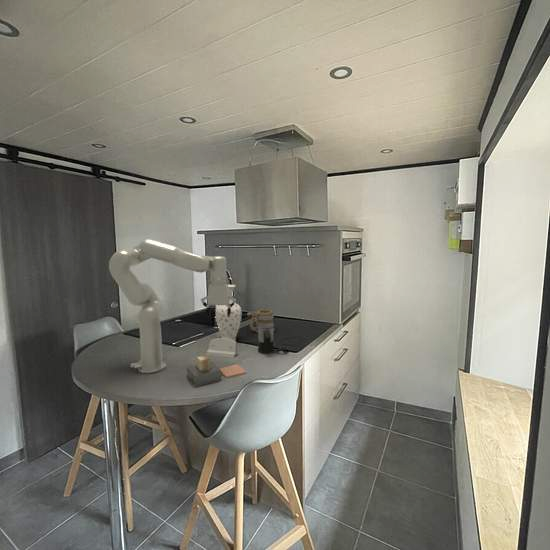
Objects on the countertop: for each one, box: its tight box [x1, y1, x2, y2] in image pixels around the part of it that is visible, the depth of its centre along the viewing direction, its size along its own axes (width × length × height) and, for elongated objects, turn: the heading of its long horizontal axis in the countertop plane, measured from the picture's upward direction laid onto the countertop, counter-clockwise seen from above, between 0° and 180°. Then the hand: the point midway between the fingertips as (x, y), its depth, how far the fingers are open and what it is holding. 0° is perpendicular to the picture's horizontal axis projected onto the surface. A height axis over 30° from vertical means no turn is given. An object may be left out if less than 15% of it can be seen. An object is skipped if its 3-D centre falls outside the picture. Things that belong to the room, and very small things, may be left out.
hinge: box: [206, 337, 238, 359], centre depth 168 cm, size 17×5×10 cm, turn 77°
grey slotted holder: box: [186, 360, 222, 388], centre depth 138 cm, size 12×12×5 cm
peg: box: [196, 354, 211, 372], centre depth 137 cm, size 4×4×10 cm
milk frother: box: [257, 324, 289, 354], centre depth 172 cm, size 14×16×15 cm
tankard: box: [246, 309, 275, 333], centre depth 208 cm, size 20×13×15 cm, turn 118°
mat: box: [218, 364, 247, 379], centre depth 145 cm, size 10×10×1 cm
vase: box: [215, 284, 242, 341], centre depth 188 cm, size 16×16×35 cm
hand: (218, 315), depth 150 cm, fingers open, 9 cm apart
